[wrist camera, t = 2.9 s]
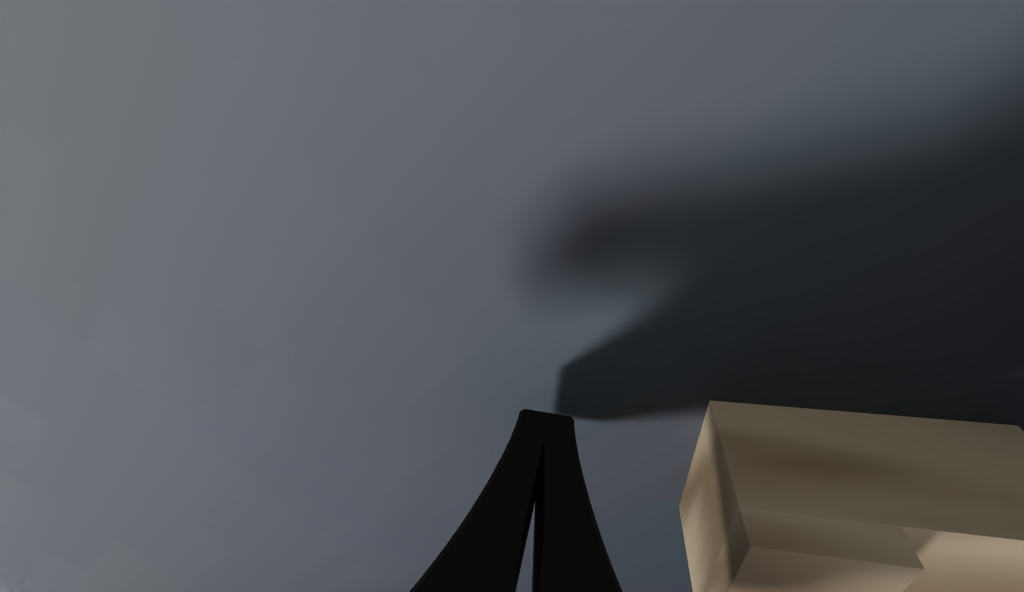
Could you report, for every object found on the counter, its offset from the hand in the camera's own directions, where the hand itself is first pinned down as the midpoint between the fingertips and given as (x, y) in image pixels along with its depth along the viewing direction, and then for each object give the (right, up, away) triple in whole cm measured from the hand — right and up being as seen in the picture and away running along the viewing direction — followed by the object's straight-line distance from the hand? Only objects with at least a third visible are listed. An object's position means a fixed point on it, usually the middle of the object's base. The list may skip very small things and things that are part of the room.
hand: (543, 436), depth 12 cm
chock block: (+8, -1, +1) cm, 8 cm away
